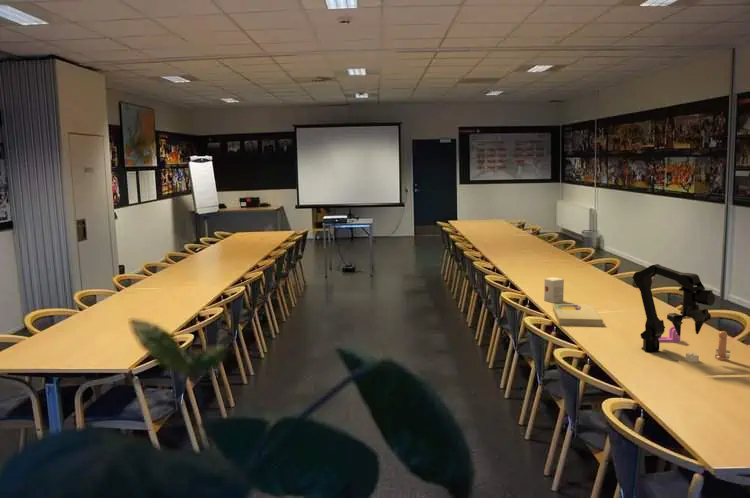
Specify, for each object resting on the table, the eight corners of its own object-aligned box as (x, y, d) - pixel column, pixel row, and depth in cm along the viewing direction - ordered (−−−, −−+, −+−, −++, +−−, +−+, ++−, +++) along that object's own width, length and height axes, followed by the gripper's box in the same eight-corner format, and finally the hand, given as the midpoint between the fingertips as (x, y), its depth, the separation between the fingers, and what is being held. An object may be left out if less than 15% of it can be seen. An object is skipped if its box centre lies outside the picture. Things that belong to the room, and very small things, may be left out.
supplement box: (543, 300, 422) (543, 278, 420) (554, 299, 426) (554, 276, 423) (552, 303, 414) (553, 280, 412) (563, 301, 418) (564, 279, 415)
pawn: (719, 360, 292) (720, 332, 290) (714, 357, 297) (715, 329, 295) (729, 360, 292) (731, 332, 290) (724, 357, 297) (725, 329, 295)
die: (689, 364, 292) (690, 355, 291) (685, 361, 296) (685, 353, 295) (698, 364, 292) (698, 355, 291) (694, 361, 296) (694, 352, 295)
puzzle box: (558, 326, 362) (603, 327, 357) (558, 318, 361) (603, 319, 357) (552, 310, 397) (593, 311, 393) (552, 303, 396) (593, 304, 392)
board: (729, 364, 290) (729, 362, 290) (713, 362, 294) (713, 360, 293) (730, 352, 307) (731, 350, 307) (715, 350, 311) (715, 348, 310)
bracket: (676, 339, 330) (676, 326, 329) (680, 342, 325) (680, 329, 324) (649, 339, 332) (650, 326, 331) (653, 342, 326) (653, 329, 325)
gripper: (682, 306, 283) (680, 341, 285) (720, 304, 286) (718, 338, 288) (666, 301, 294) (665, 334, 296) (703, 298, 297) (701, 331, 299)
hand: (688, 334), depth 295 cm, fingers open, 9 cm apart
